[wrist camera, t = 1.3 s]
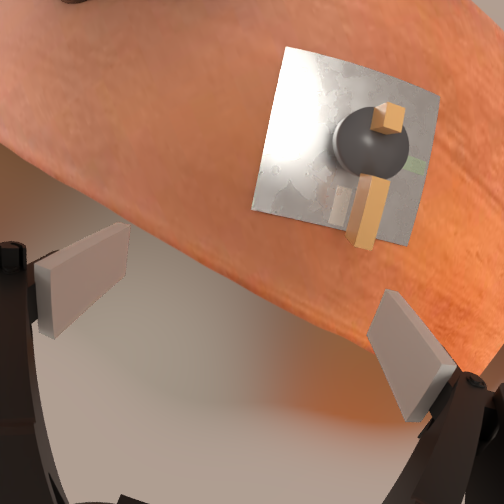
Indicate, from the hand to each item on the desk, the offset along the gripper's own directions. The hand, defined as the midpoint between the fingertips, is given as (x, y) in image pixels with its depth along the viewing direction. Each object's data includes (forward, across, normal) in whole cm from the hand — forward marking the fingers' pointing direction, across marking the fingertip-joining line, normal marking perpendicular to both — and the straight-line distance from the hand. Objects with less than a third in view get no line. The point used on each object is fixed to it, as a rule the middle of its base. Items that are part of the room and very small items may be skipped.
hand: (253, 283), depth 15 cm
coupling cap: (+21, +9, +7) cm, 24 cm away
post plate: (+27, +9, +10) cm, 30 cm away
